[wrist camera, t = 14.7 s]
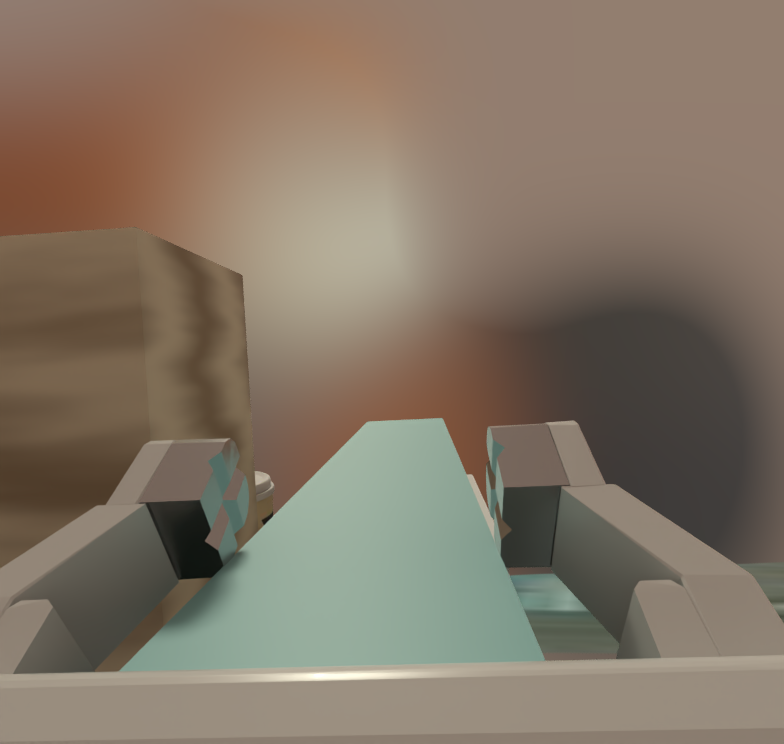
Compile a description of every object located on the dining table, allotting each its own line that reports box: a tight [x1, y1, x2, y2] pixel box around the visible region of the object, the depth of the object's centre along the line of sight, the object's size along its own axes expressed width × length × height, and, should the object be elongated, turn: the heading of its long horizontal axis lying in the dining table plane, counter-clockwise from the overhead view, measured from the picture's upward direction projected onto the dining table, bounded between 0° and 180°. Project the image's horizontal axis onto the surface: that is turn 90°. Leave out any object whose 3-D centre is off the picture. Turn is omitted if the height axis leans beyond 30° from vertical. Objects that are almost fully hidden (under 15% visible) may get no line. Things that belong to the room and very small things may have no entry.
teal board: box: [120, 418, 545, 671], centre depth 19 cm, size 28×4×2 cm, turn 177°
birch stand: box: [0, 227, 258, 672], centre depth 22 cm, size 10×8×26 cm
